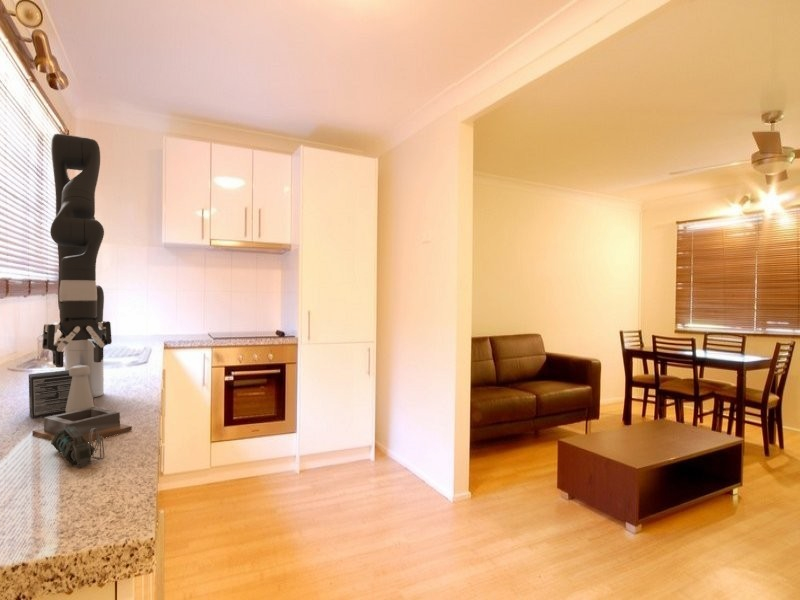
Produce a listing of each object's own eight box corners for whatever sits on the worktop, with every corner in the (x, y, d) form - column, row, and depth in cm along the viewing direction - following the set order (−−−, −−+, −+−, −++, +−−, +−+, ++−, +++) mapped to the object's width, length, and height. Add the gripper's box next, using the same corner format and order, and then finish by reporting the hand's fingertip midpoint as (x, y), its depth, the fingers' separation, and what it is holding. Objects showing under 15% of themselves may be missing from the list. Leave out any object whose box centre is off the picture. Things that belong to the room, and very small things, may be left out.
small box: (79, 406, 121) (78, 368, 120) (83, 411, 116) (83, 371, 116) (28, 413, 113) (28, 373, 113) (31, 419, 109) (30, 376, 108)
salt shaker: (78, 422, 106) (78, 368, 106) (59, 420, 107) (58, 367, 107) (99, 415, 112) (99, 364, 112) (81, 414, 113) (80, 363, 113)
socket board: (32, 435, 97) (32, 416, 97) (91, 420, 107) (91, 404, 107) (72, 447, 89) (72, 427, 89) (131, 430, 100) (131, 413, 100)
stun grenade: (52, 455, 87) (68, 475, 78) (48, 424, 86) (64, 440, 77) (90, 444, 92) (110, 462, 82) (86, 415, 91) (106, 429, 82)
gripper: (100, 298, 117) (100, 360, 117) (36, 299, 104) (37, 367, 105) (117, 298, 114) (117, 361, 114) (53, 299, 101) (53, 370, 101)
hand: (79, 364), depth 109 cm, fingers open, 8 cm apart
